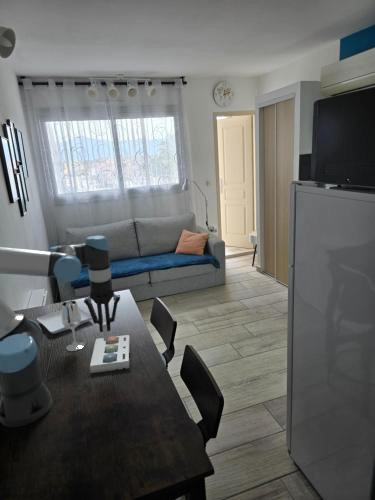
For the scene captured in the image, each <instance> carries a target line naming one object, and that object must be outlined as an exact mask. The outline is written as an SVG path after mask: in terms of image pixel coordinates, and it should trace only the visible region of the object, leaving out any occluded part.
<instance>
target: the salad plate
mask: <svg viewBox="0 0 375 500" xmlns="http://www.w3.org/2000/svg"><path fill="white" fill-rule="evenodd" d="M78 308H79V311H80V314H81V323H80V324H79V326H81V325H84V324H86V323H88V322H90V321H91V320H93V319H92V317H91V314H90V312H88V311H85V310H84V309H82V308H81V307H79V306H78ZM61 312H62V309H61V310H57V311H54V312H51V313H49V314H45V315H42V316H39V317H37V318H36V321H38V322H39V323H40V324H41V325H42V326H44V327H45V328H46V329H47V331H49V332H50V333H51V334H59V333H63V332H65V331H68V330H69V329H68V328H66V327H65V326H63V324H62V320H61Z"/></svg>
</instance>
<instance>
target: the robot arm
mask: <svg viewBox="0 0 375 500" xmlns="http://www.w3.org/2000/svg"><path fill="white" fill-rule="evenodd" d="M109 247H110V246H109V241H108V238H107V236H104V235H92V236H90V235H89V236H87V237H86V238H85V241H84V243H78V244H67V245H66V244H65V245H60V244H59V245H55V246H51V247H49V248H48V250H37V249H26V248H18V247H17V248H14V247H5V246H0V274H3V275H16V276H17V275H18V276H31V277H32V276H33V277H44V278H45V277H46V278H47V277H48V278H57V279H58V280H59V281H60V282H64V283H70V282H74V281H75V280H77V279H78V277H79V276H80V274H81V271H82V267H83V266H86V265H87V267H88V279H89V280H90V281H89V287H90V288H89V289H90V293H89V296H88V297H87V296H86V297H85V298H84V300H83V303H84V304H85V305H86V307H87V308H88V311H89V312H88V313H89V314H91V317H92V319H91V320H92V321H93V324H97V325H98V326H99V327H98V328H99V333H102V338H104V341H108V337H109V332H111V329H112V328H111V323H114V322H115V320H116V315H117V309H118V308H117V307H118V303H119V302H120V300H121V295H120V294H116V293H115V292H114V290H113V283H112V273H111V272H112V271H111V260H110V259H111V258H110V248H109ZM112 298H113V301H114V302H113V307H112V312H111V313H112V314H110V306H109V304H110V301H111V300H112ZM92 301H93V302H94V303H95V304H96V308H97V312H96V311H95V308H94V305H93V303H92ZM102 305H103V306H104V313H105V314H104V315H105V321H104V317H103V309H102V308H103V307H102ZM96 313H97V314H96ZM110 315H111V317H110ZM43 339H44V338H43V331H42V328H41V326H40V325H39V324H38V323H37V322H36V321H34V320H32V319H28V318H27V317H26V315H24V314H23V313H15V311H14V310H13V309H12V308H11V307H10V306H9V305H8V304H7V303H6V302H5V300H3V298H2V297H1V296H0V423H1V425H3V426H5V427H7V428H19V427H24V426H27V425H29V424H32V423H34V422H35V421H38V420H39V419H41V418H42V417H43V416H45V414H47V413H48V412H49V410H50V409H51V407H52V404H53V400H52V399H53V398H52V394H51V392H50V390H49V389H48V387H47V386H46V384H45V383H44V381H43V376H42V372H41V366H40V354H41V348H42V344H43Z"/></svg>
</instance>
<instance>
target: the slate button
mask: <svg viewBox="0 0 375 500" xmlns="http://www.w3.org/2000/svg"><path fill="white" fill-rule="evenodd" d="M115 361H116V355H115V354H114V353H108V354H106V355H105V356H104V362H105V363H107V362H115Z"/></svg>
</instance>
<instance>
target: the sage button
mask: <svg viewBox="0 0 375 500" xmlns="http://www.w3.org/2000/svg"><path fill="white" fill-rule="evenodd" d="M105 349H106V353H112V352H117V346H116V345H115V344H110V345H107V346H106V347H105Z"/></svg>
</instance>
